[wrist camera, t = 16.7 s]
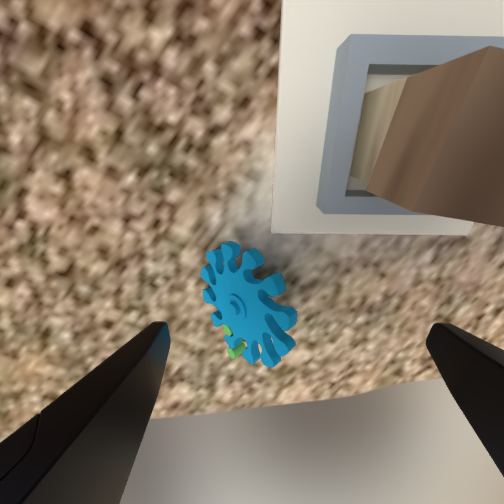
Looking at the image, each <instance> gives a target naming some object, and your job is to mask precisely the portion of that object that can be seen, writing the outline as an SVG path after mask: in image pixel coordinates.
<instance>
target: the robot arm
mask: <svg viewBox="0 0 504 504" xmlns="http://www.w3.org/2000/svg"><path fill="white" fill-rule="evenodd" d="M426 346H427V349H428V351H429V353H430V355H431V356H432V358H433V360H434V362H435V364H436V366H437V368H438V370H439V372H440V374H441V376H442V378H443V379H444V381H445V383H446V385H447V387H448V389H449V391H450V393H451V394H452V396H453V397H454V399H455V401H456V402H457V404H458V406H459V407H460V409H461V410H462V411H463V414H464V415H465V417H466V418H467V420H468V421H469V423H470V425H471V426H472V428H473V429H474V431H475V432H476V434H477V436H478V437H479V439H480V440H481V442H482V444H483V445H484V447H485V448H486V450H487V451H488V453H489V455H490V456H491V458H492V459H493V461H494V462H495V464H496V466H497V467H498V469H499V470H500V472H501V473H502V475H503V477H504V350H502V349H500V348H498V347H496V346H494V345H492V344H490V343H488V342H486V341H484V340H482V339H480V338H478V337H476V336H474V335H472V334H470V333H468V332H466V331H464V330H462V329H460V328H458V327H456V326H454V325H452V324H450V323H435V324H433V326H432V328H431V330H430V332H429V334H428V337H427V339H426ZM169 349H170V335H169V330H168V325H167V323H166V322H164V321H155V322H153V323H151V324H150V325H149V326H147V327H146V328H145V329H144V330H142V331H141V332H140V333H139V334H137V335H136V336H135V337H133V338H132V339H131V340H130V341H128V342H127V343H126V344H125V345H123V346H122V347H121V348H120V349H118V350H117V351H116V352H115V353H113V354H112V355H111V356H110V357H108V358H107V359H106V360H105V361H103V362H102V363H101V364H99V365H98V366H97V367H96V368H94V369H93V370H92V371H91V372H89V373H88V374H87V375H86V376H84V377H83V378H82V379H81V380H79V381H78V382H77V383H76V384H74V385H73V386H72V387H71V388H69V389H68V390H67V391H65V392H64V393H63V394H62V395H60V396H59V397H58V398H57V399H55V400H54V401H53V402H52V403H50V404H49V405H48V406H47V407H45V408H44V409H43V410H42V411H41V413H40V414H36V415H35V416H34V417H33V418H31V419H30V420H29V421H28V422H26V423H25V424H24V425H23V426H21V427H20V428H19V429H17V430H16V431H15V432H14V433H12V434H11V435H10V436H8V437H7V438H6V439H4V440H3V441H2V442H1V443H0V504H119V503H120V500H121V497H122V495H123V492H124V489H125V486H126V483H127V481H128V478H129V475H130V472H131V469H132V467H133V464H134V461H135V458H136V455H137V452H138V449H139V447H140V444H141V441H142V439H143V436H144V433H145V430H146V427H147V424H148V422H149V419H150V416H151V413H152V411H153V408H154V405H155V402H156V399H157V396H158V393H159V389H160V385H161V381H162V377H163V373H164V369H165V365H166V361H167V357H168V353H169Z"/></svg>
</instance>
